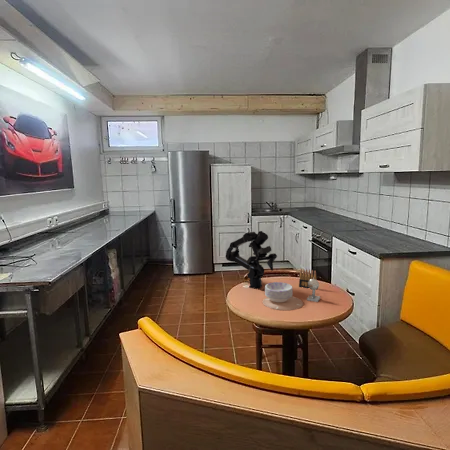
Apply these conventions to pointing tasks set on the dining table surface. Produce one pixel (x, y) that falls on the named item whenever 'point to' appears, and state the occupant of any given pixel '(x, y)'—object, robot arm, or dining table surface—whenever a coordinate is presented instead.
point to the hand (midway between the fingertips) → (267, 271)
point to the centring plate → (284, 304)
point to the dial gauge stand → (313, 290)
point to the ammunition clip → (306, 278)
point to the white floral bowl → (278, 291)
